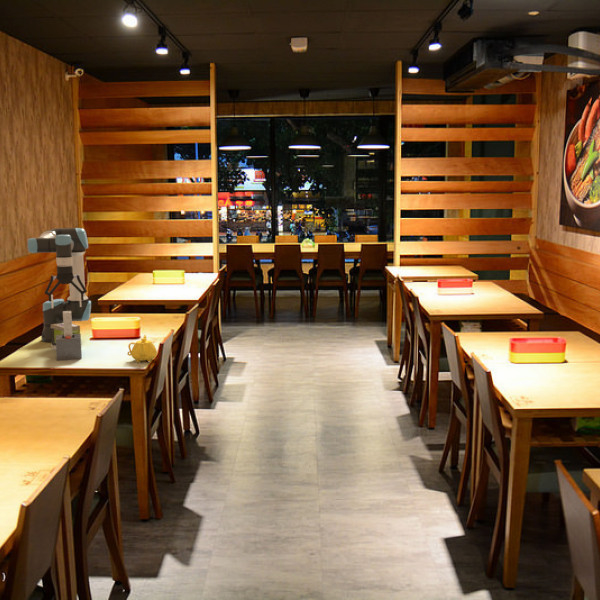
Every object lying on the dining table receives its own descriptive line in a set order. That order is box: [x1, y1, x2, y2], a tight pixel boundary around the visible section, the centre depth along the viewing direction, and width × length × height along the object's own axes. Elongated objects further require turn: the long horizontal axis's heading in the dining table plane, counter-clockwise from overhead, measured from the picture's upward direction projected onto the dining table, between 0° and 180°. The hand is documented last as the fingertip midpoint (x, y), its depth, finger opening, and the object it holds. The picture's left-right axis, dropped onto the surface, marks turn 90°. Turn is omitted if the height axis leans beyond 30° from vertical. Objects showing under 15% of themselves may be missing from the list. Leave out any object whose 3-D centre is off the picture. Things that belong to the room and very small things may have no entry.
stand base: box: [55, 333, 83, 362], centre depth 359 cm, size 16×16×13 cm
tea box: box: [50, 323, 81, 351], centre depth 377 cm, size 15×10×15 cm, turn 45°
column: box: [63, 311, 73, 338], centre depth 358 cm, size 6×4×24 cm
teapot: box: [126, 334, 158, 363], centre depth 357 cm, size 20×15×12 cm
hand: (66, 307), depth 356 cm, fingers open, 13 cm apart
